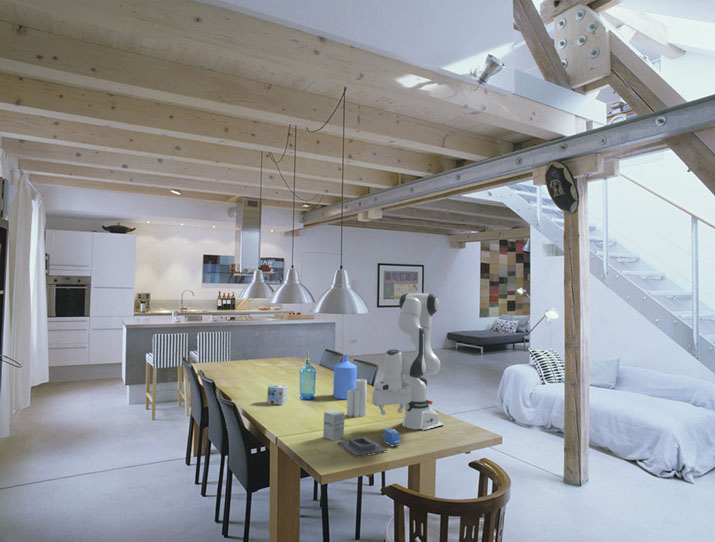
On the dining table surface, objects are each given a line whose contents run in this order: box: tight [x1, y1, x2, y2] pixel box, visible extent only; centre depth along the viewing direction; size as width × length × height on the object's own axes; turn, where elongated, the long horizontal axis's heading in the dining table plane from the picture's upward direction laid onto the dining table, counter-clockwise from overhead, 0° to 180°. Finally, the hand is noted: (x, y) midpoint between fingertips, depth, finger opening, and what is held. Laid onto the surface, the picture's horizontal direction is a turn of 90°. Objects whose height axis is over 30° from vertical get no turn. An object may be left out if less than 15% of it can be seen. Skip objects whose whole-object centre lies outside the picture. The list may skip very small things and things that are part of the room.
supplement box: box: [322, 409, 345, 442], centre depth 220 cm, size 7×7×13 cm
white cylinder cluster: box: [346, 378, 368, 418], centre depth 260 cm, size 11×7×20 cm, turn 116°
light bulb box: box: [266, 384, 288, 406], centre depth 282 cm, size 11×7×11 cm, turn 76°
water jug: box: [332, 354, 358, 400], centre depth 303 cm, size 16×16×28 cm
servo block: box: [381, 427, 402, 446], centre depth 214 cm, size 4×12×7 cm, turn 28°
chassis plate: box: [337, 436, 388, 458], centre depth 207 cm, size 16×18×3 cm
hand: (391, 413), depth 214 cm, fingers open, 8 cm apart
